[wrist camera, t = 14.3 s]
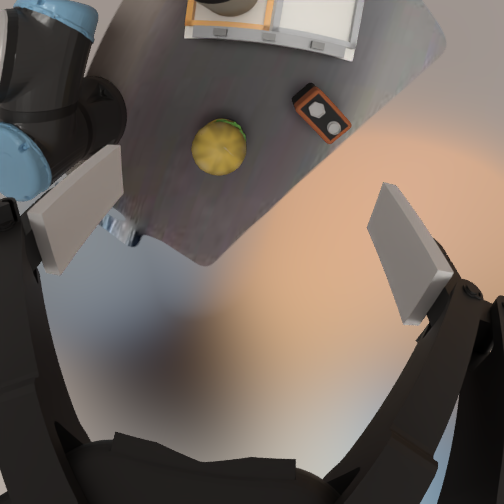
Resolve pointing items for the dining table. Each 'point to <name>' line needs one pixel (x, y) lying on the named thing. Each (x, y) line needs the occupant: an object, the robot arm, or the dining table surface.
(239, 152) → the hamburger
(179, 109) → the dining table surface
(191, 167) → the dining table surface
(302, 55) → the dining table surface
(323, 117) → the battery
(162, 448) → the robot arm
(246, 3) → the travel mug
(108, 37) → the dining table surface
